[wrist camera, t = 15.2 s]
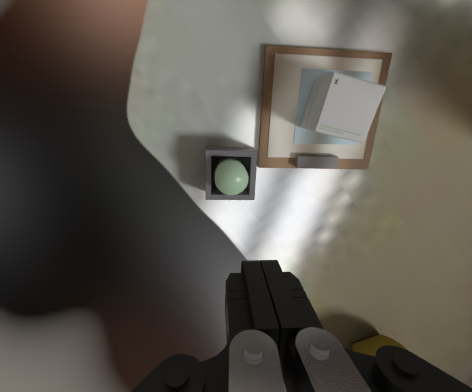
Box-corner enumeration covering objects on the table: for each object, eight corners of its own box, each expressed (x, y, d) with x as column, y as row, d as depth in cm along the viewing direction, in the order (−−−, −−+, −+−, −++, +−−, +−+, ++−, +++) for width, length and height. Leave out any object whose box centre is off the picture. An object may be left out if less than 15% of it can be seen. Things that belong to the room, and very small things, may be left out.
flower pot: (337, 338, 41) (369, 397, 33) (388, 320, 41) (434, 375, 32) (349, 372, 44) (381, 435, 36) (396, 355, 44) (440, 415, 35)
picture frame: (388, 54, 28) (397, 51, 27) (365, 168, 32) (371, 170, 31) (265, 46, 27) (267, 43, 25) (257, 166, 31) (259, 168, 29)
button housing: (253, 147, 30) (257, 151, 27) (250, 191, 32) (254, 199, 29) (206, 146, 29) (205, 150, 27) (206, 191, 31) (205, 199, 28)
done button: (244, 156, 30) (249, 162, 26) (243, 185, 31) (247, 195, 27) (214, 155, 30) (214, 162, 26) (214, 184, 31) (214, 195, 27)
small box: (298, 128, 29) (314, 131, 24) (314, 75, 27) (334, 68, 23) (342, 139, 30) (366, 144, 25) (360, 89, 28) (389, 84, 23)
